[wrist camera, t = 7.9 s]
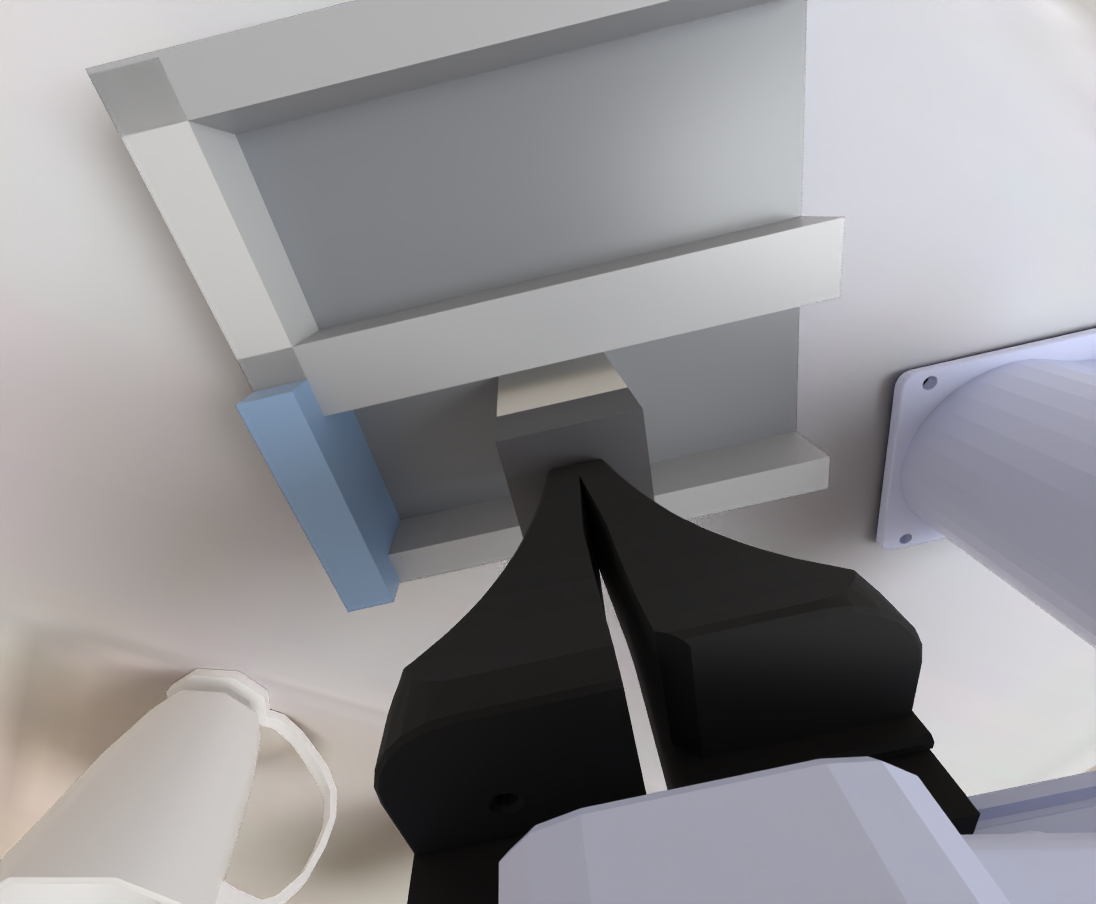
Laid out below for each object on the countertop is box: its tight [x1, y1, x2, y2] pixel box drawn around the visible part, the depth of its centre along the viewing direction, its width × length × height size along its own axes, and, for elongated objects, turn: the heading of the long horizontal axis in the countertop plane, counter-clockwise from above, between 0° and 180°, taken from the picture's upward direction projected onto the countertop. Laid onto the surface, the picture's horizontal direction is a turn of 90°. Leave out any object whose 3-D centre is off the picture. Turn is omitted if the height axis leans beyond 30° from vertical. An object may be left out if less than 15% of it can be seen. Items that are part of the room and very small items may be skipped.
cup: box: [0, 668, 337, 904], centre depth 19 cm, size 7×10×8 cm
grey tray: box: [86, 0, 845, 612], centre depth 14 cm, size 16×15×4 cm
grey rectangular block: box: [495, 352, 655, 538], centre depth 14 cm, size 3×3×5 cm
